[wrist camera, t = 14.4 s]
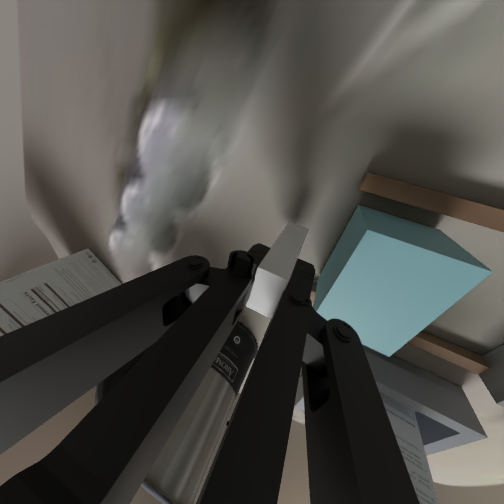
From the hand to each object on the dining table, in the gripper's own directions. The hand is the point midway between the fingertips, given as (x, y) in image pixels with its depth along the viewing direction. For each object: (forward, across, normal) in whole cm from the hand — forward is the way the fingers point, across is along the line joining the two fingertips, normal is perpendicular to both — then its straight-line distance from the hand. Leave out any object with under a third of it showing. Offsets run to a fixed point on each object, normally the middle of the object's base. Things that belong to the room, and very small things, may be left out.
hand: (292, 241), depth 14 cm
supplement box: (+2, +30, +22) cm, 37 cm away
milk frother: (+2, +6, +22) cm, 23 cm away
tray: (+2, -13, +14) cm, 19 cm away
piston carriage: (+2, -6, 0) cm, 6 cm away
